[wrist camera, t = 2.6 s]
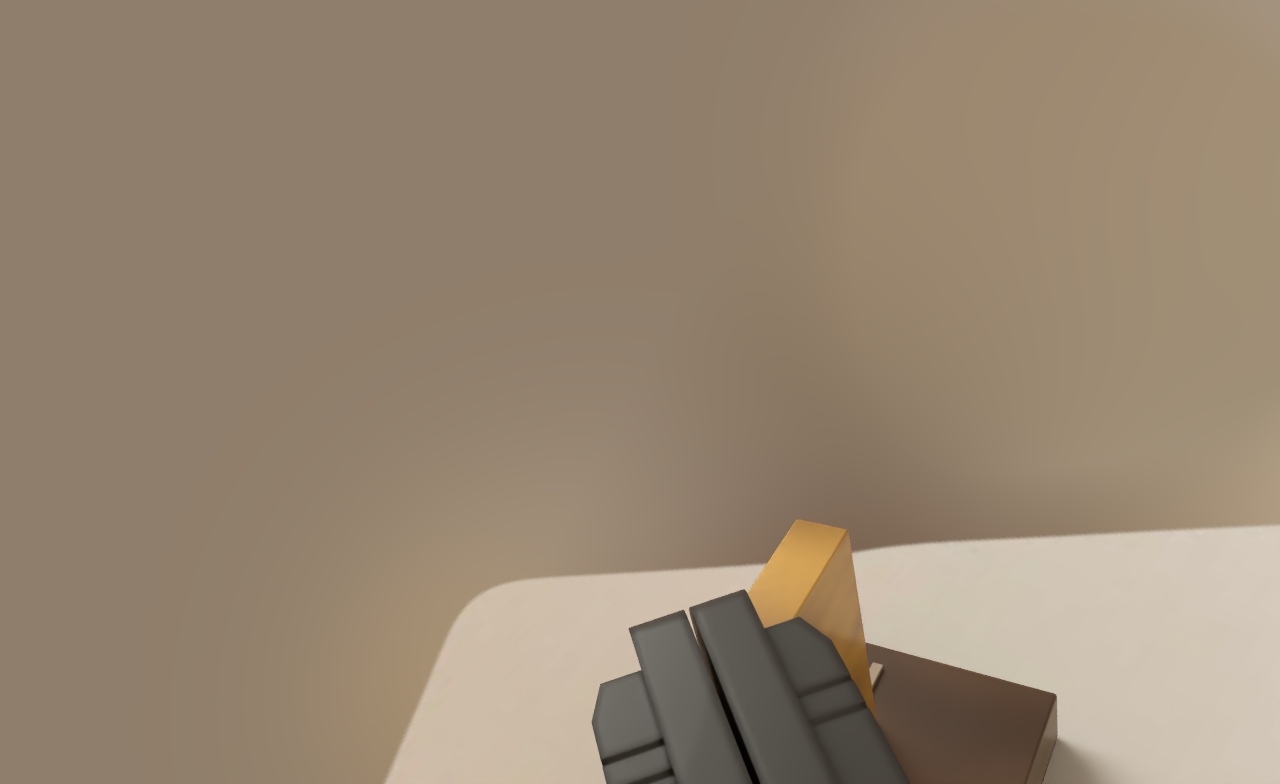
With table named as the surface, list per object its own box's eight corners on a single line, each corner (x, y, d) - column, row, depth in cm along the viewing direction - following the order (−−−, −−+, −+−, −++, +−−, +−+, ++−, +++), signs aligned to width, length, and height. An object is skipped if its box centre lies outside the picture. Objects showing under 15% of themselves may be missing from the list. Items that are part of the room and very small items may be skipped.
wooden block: (830, 705, 34) (795, 511, 30) (877, 720, 33) (847, 522, 29) (715, 923, 29) (651, 725, 25) (767, 947, 28) (710, 746, 24)
